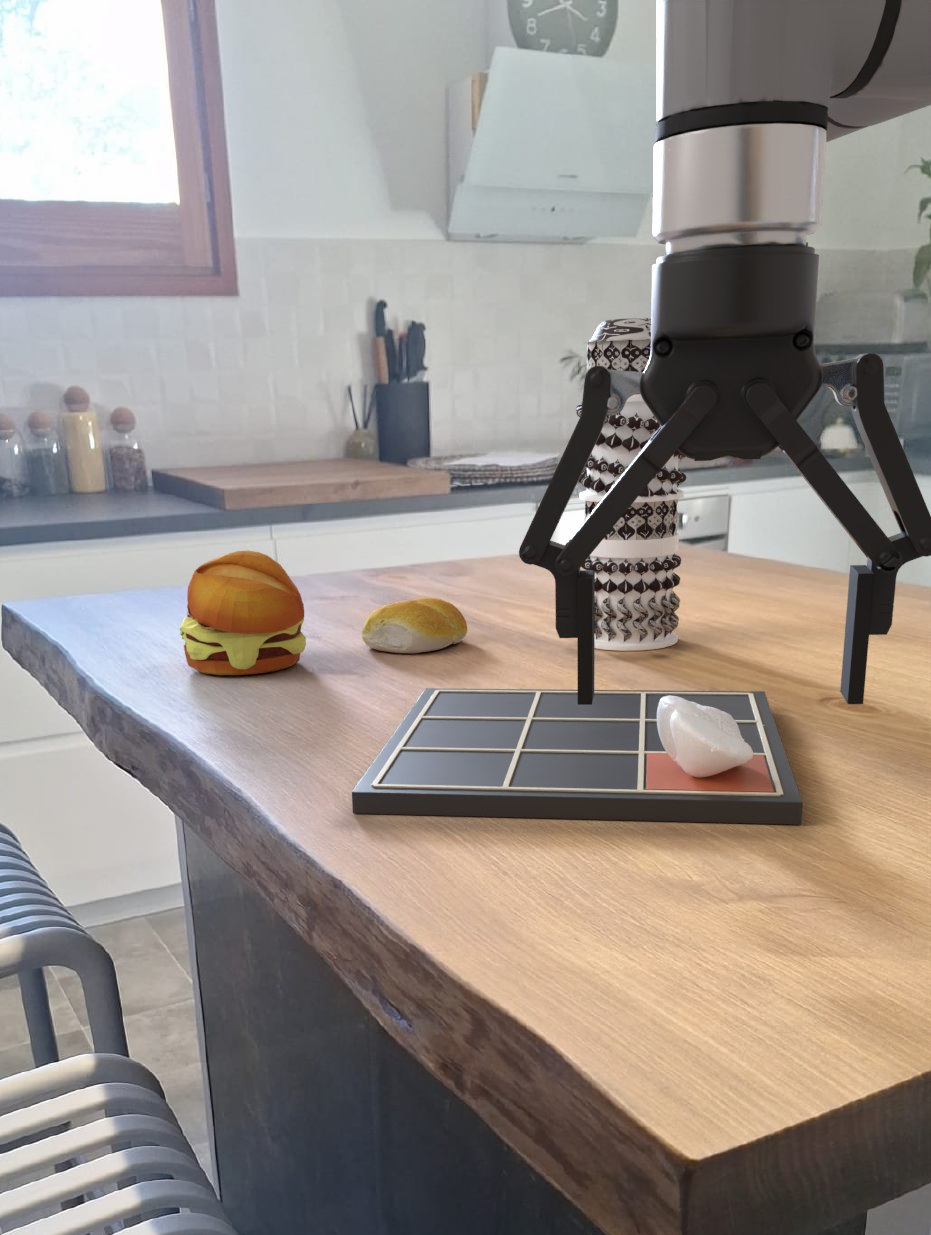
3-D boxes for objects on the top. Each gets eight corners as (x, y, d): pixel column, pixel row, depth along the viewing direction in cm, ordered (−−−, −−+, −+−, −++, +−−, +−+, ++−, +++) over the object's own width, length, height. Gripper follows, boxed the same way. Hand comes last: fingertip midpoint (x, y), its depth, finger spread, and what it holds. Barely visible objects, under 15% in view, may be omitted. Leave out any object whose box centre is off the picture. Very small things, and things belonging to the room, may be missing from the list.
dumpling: (636, 762, 69) (649, 691, 68) (726, 775, 69) (739, 705, 69) (667, 777, 62) (682, 698, 61) (766, 791, 63) (782, 713, 62)
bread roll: (480, 637, 108) (479, 591, 106) (431, 658, 101) (430, 608, 99) (398, 630, 112) (397, 586, 110) (346, 650, 104) (343, 602, 103)
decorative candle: (631, 625, 111) (640, 322, 101) (705, 641, 103) (721, 316, 94) (551, 639, 106) (552, 322, 97) (622, 656, 99) (631, 316, 90)
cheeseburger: (283, 644, 106) (285, 532, 101) (327, 699, 99) (332, 580, 93) (167, 656, 102) (163, 539, 97) (203, 714, 95) (201, 591, 89)
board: (763, 708, 83) (764, 689, 82) (800, 825, 62) (803, 800, 61) (426, 704, 86) (425, 686, 86) (352, 813, 65) (351, 790, 65)
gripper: (1001, 237, 58) (951, 679, 66) (477, 268, 62) (489, 682, 70) (1047, 220, 51) (985, 716, 59) (455, 256, 55) (471, 716, 63)
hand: (716, 698), depth 65 cm, fingers open, 13 cm apart
